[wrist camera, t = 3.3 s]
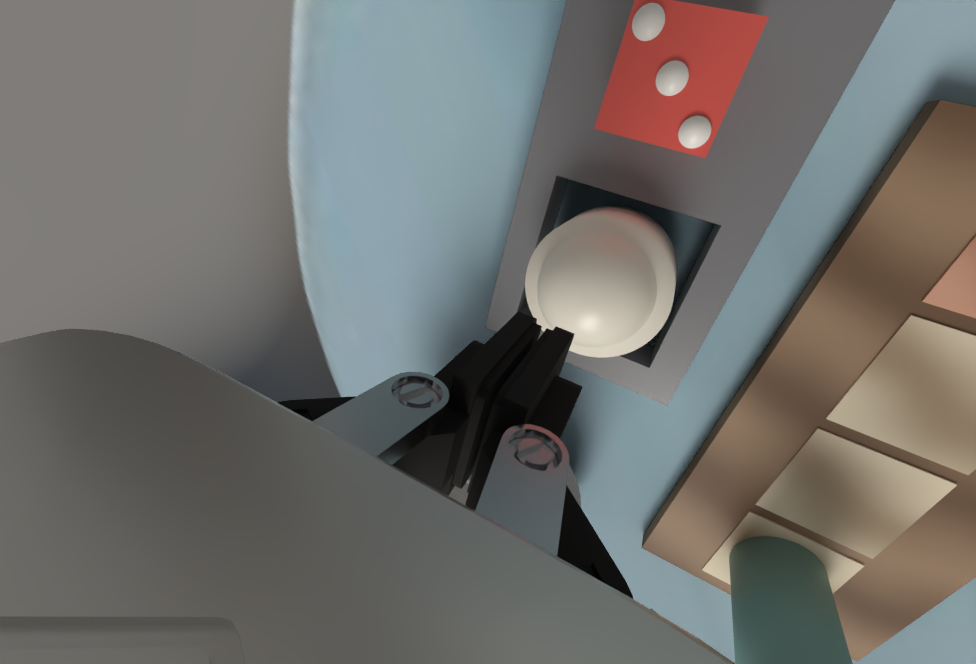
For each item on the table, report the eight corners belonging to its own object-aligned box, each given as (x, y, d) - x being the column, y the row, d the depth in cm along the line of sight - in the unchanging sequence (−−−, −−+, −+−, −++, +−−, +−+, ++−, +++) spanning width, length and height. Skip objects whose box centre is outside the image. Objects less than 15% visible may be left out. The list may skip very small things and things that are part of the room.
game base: (593, -27, 17) (549, -100, 12) (868, 17, 15) (962, -51, 9) (502, 312, 25) (452, 356, 20) (669, 381, 22) (662, 452, 17)
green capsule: (755, 522, 22) (781, 720, 15) (847, 568, 21) (928, 809, 13) (714, 569, 24) (718, 762, 17) (795, 612, 23) (840, 841, 16)
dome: (568, 188, 19) (529, 202, 15) (702, 230, 18) (704, 260, 13) (532, 303, 22) (491, 345, 18) (645, 348, 21) (630, 406, 16)
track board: (926, 102, 15) (942, 99, 14) (1433, 205, 12) (1496, 210, 11) (643, 535, 27) (641, 549, 26) (851, 643, 24) (857, 663, 23)
